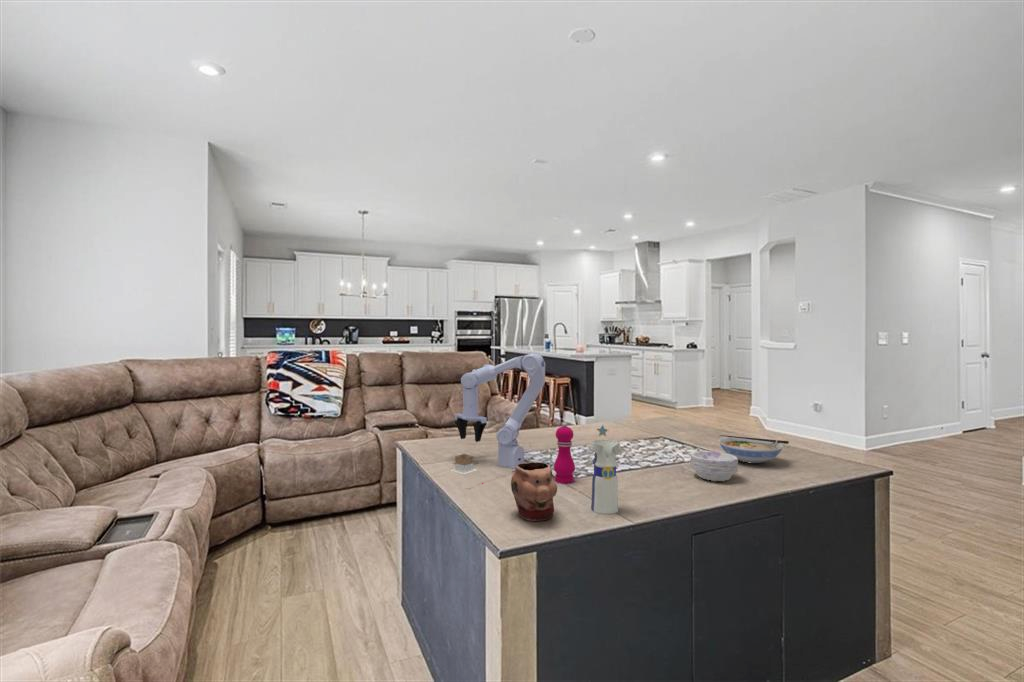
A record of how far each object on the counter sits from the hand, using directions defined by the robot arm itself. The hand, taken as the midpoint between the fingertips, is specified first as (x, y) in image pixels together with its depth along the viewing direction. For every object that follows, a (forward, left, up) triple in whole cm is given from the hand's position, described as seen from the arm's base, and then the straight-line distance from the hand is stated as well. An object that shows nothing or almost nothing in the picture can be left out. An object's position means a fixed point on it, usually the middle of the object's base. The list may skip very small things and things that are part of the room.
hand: (470, 439), depth 189 cm
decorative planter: (-48, +25, -10) cm, 55 cm away
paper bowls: (-76, -42, -10) cm, 88 cm away
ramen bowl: (-80, -73, -10) cm, 109 cm away
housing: (-6, +10, -8) cm, 14 cm away
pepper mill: (-38, -6, -10) cm, 40 cm away
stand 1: (0, +3, -9) cm, 10 cm away
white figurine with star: (-62, +9, -10) cm, 64 cm away
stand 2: (-6, +10, -9) cm, 15 cm away
